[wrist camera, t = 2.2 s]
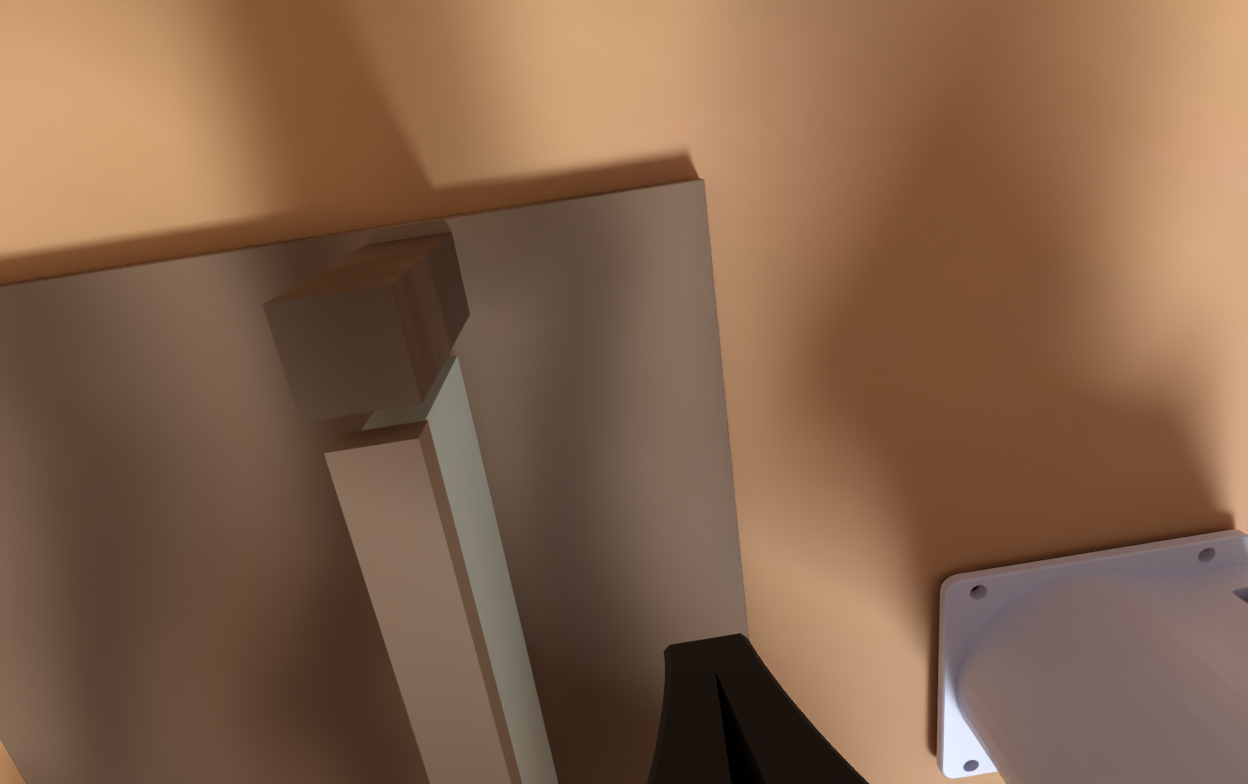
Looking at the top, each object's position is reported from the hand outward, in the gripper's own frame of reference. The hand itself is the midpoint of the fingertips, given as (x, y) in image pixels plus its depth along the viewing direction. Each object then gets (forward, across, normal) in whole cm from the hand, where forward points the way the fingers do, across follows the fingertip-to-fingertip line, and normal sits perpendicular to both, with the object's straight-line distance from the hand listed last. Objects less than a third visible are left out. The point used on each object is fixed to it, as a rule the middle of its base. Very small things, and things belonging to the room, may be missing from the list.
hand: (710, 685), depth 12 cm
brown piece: (+8, +9, +4) cm, 13 cm away
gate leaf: (+7, +5, +3) cm, 9 cm away
